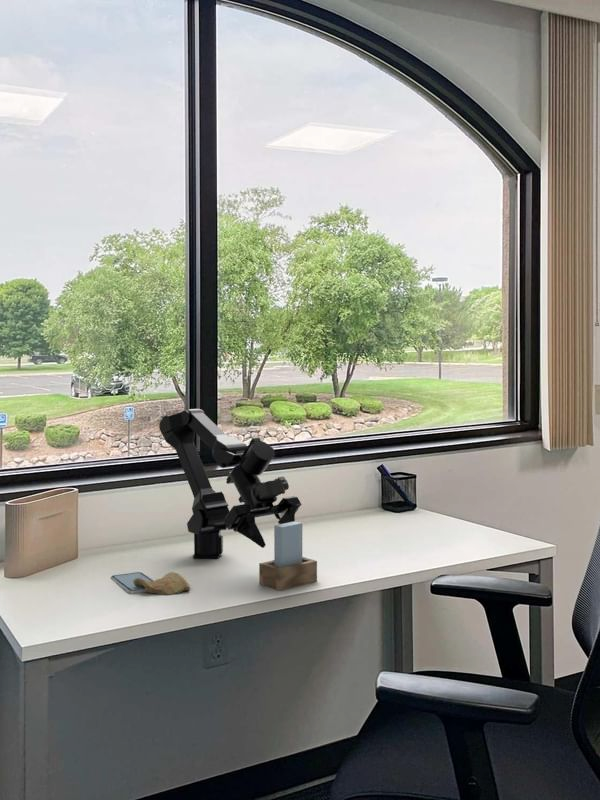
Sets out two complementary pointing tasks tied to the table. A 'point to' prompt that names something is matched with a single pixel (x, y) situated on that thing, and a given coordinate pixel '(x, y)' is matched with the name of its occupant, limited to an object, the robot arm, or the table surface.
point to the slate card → (287, 544)
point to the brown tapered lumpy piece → (164, 584)
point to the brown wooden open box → (287, 574)
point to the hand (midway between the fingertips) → (280, 543)
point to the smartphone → (131, 582)
